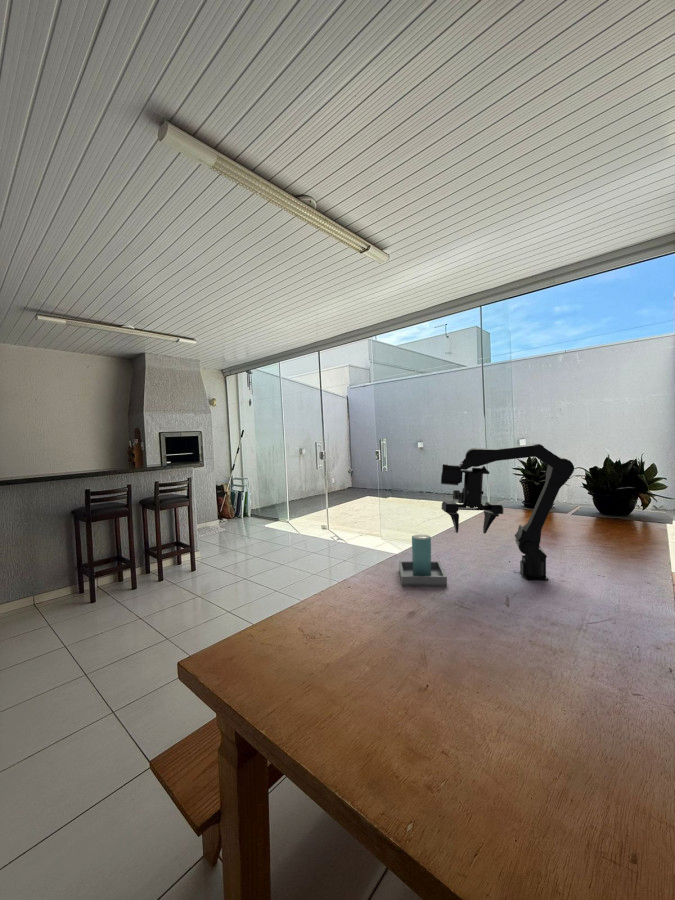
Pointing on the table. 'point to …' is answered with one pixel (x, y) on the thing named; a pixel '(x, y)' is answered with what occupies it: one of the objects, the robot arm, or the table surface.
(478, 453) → the robot arm
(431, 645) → the table surface
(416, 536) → the teal cylinder
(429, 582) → the tray
